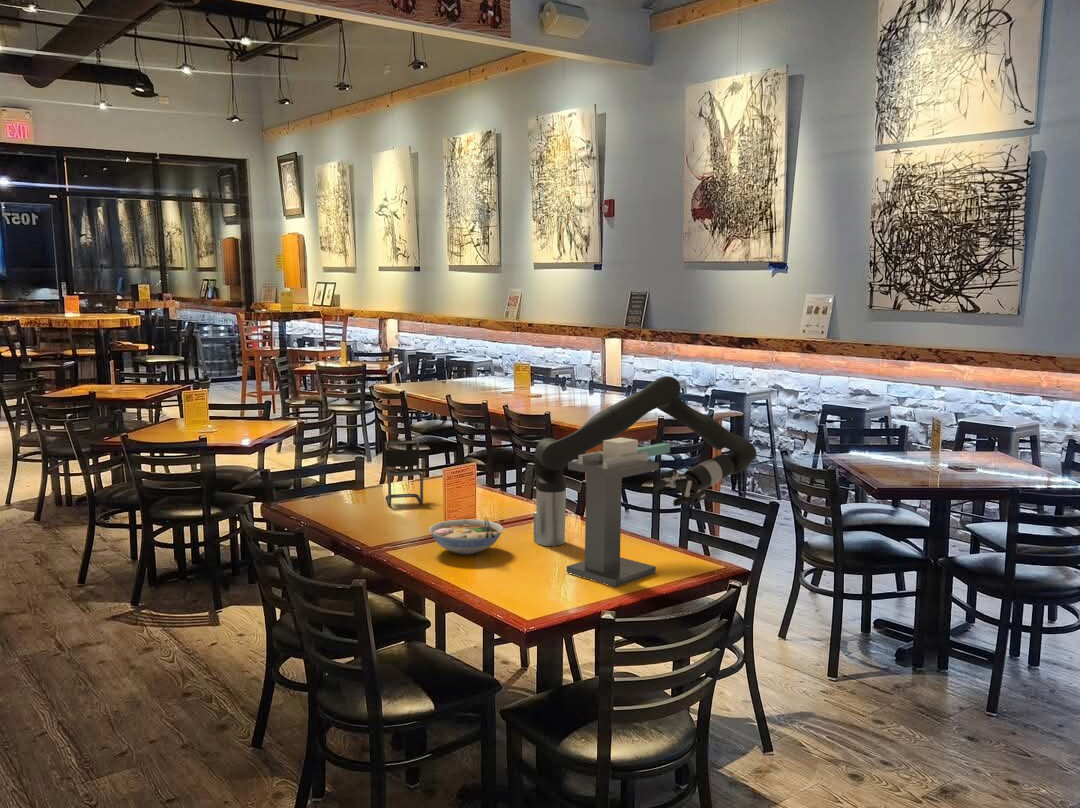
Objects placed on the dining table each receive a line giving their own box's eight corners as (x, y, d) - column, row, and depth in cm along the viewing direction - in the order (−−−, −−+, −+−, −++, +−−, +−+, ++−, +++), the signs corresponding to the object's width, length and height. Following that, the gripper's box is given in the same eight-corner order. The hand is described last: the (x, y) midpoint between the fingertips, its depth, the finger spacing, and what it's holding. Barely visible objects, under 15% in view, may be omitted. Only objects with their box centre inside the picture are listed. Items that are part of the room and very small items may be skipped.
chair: (418, 495, 357) (418, 439, 354) (423, 505, 340) (423, 447, 338) (384, 497, 354) (384, 440, 351) (388, 507, 337) (387, 448, 335)
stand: (566, 573, 260) (568, 453, 256) (606, 560, 273) (609, 446, 269) (615, 587, 248) (618, 462, 244) (655, 573, 261) (658, 454, 257)
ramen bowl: (429, 541, 292) (429, 516, 291) (501, 540, 294) (501, 515, 293) (427, 564, 267) (427, 536, 266) (505, 563, 270) (505, 535, 269)
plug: (602, 461, 258) (603, 440, 257) (658, 450, 277) (658, 431, 276) (619, 464, 254) (619, 443, 253) (674, 453, 273) (675, 433, 272)
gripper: (688, 454, 285) (649, 474, 277) (721, 478, 275) (681, 499, 267) (686, 473, 289) (647, 493, 281) (719, 497, 279) (679, 518, 272)
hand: (664, 495), depth 274 cm, fingers open, 8 cm apart
